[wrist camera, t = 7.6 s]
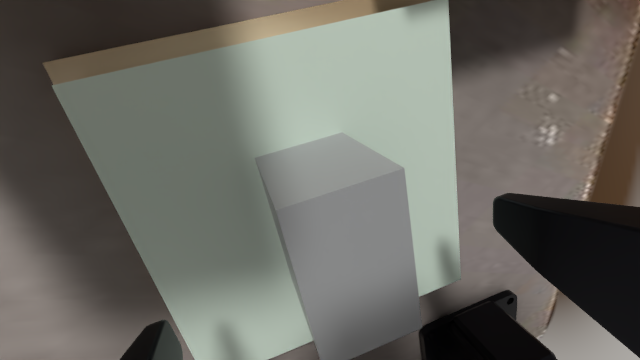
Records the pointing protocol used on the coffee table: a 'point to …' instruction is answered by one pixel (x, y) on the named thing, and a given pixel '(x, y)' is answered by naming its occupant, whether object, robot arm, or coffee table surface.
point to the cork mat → (213, 38)
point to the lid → (287, 181)
